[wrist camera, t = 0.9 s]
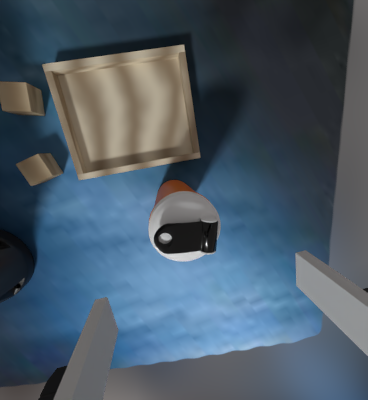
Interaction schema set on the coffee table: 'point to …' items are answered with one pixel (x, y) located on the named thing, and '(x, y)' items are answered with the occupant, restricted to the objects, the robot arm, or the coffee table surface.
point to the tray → (125, 110)
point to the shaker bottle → (183, 223)
